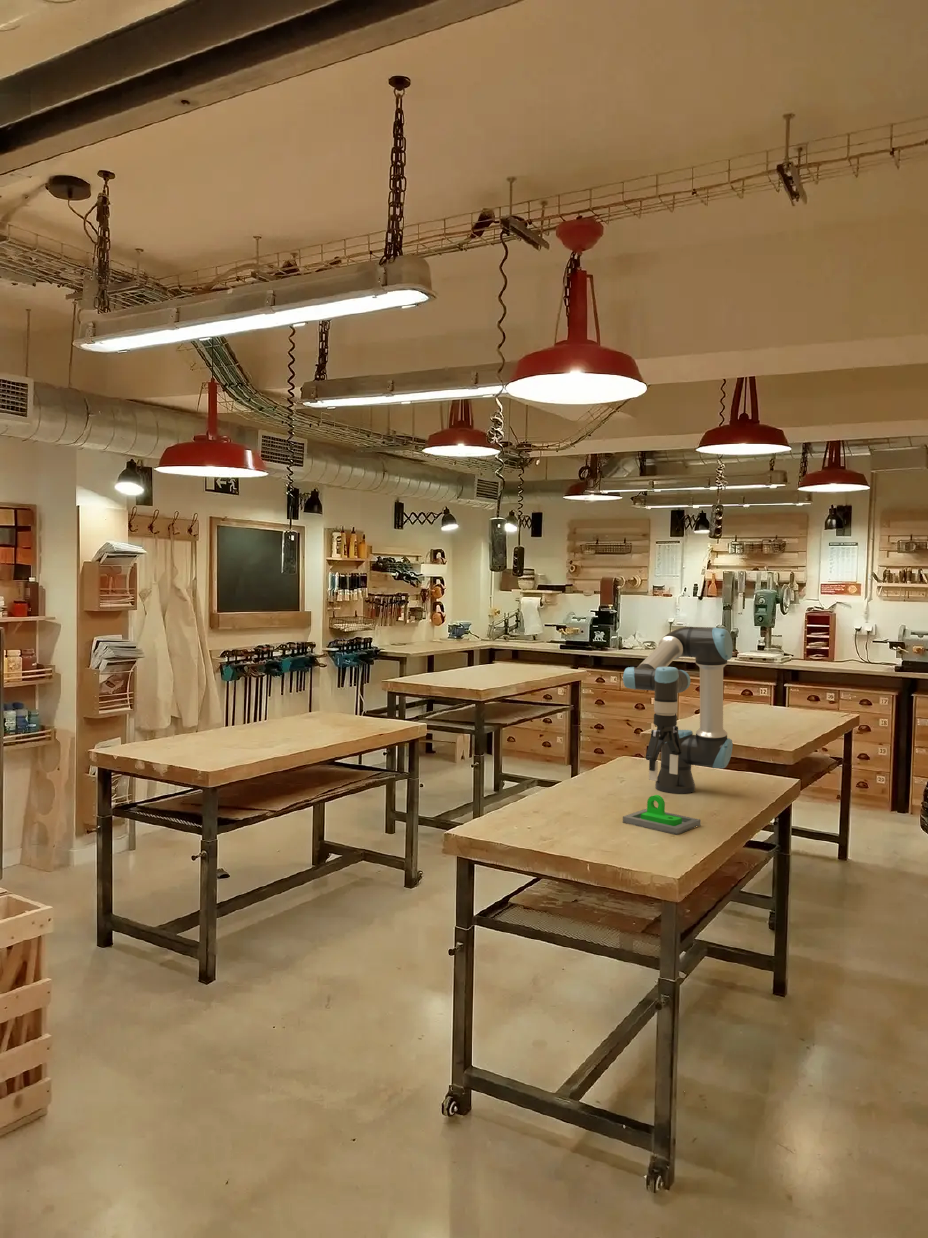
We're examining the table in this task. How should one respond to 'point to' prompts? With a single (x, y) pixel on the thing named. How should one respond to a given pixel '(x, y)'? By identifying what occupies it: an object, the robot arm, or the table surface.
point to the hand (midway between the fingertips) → (663, 777)
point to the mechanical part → (659, 812)
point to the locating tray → (685, 826)
